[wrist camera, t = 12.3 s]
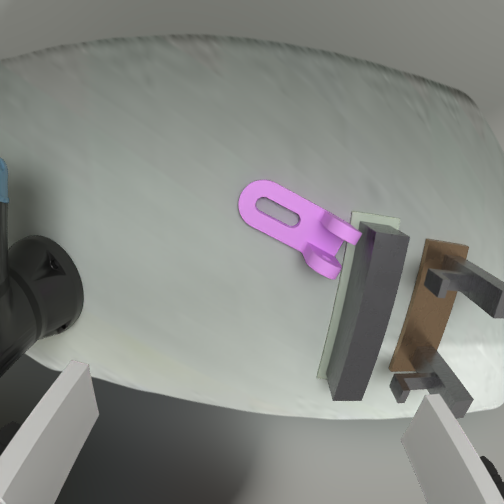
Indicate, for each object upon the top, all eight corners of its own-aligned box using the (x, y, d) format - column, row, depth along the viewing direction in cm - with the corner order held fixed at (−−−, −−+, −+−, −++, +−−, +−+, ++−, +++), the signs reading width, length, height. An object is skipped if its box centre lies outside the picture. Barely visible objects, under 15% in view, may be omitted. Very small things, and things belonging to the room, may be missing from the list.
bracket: (349, 223, 38) (366, 236, 31) (326, 262, 39) (338, 283, 32) (253, 171, 36) (250, 173, 30) (231, 213, 38) (224, 225, 31)
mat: (316, 376, 44) (316, 378, 43) (351, 210, 37) (352, 211, 37) (357, 378, 44) (358, 379, 43) (399, 218, 37) (400, 218, 37)
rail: (325, 373, 43) (332, 400, 37) (359, 220, 37) (376, 232, 31) (351, 374, 43) (361, 400, 37) (389, 225, 37) (409, 236, 31)
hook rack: (370, 367, 43) (400, 434, 30) (407, 235, 38) (466, 272, 24) (426, 367, 43) (463, 424, 30) (465, 244, 38) (528, 279, 24)
